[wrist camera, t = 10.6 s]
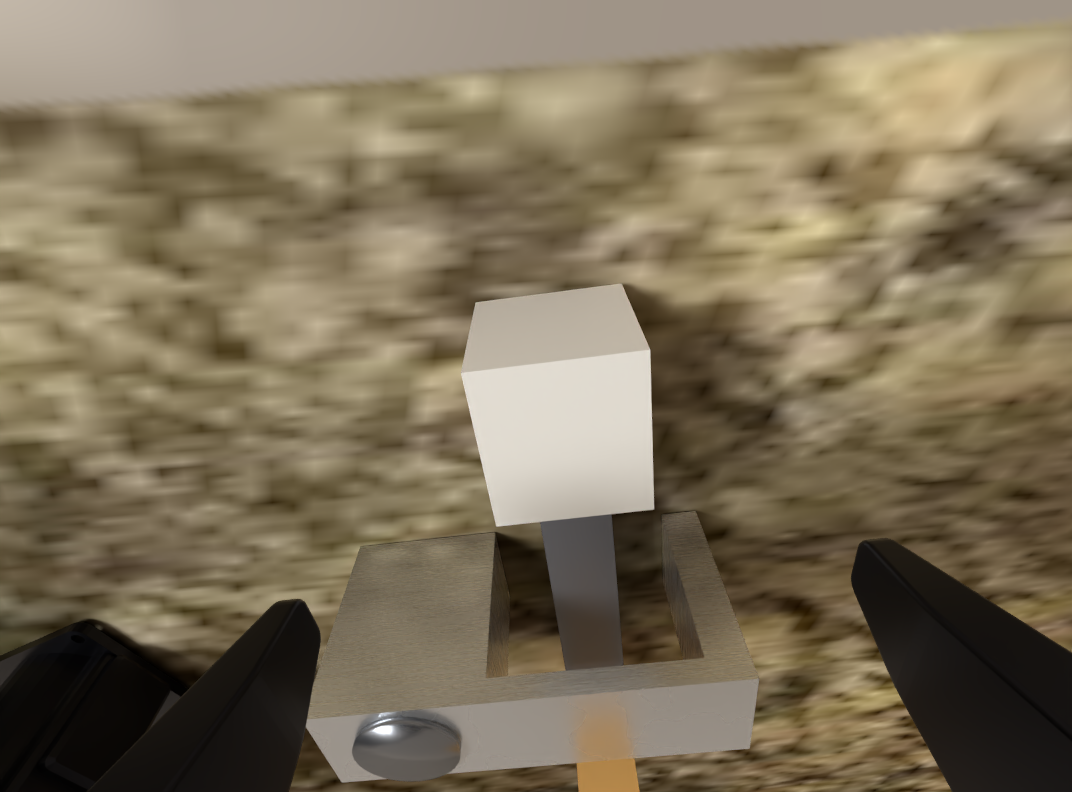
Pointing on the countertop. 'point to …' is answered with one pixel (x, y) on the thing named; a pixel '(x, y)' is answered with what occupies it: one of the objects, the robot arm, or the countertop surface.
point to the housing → (522, 700)
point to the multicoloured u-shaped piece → (567, 454)
